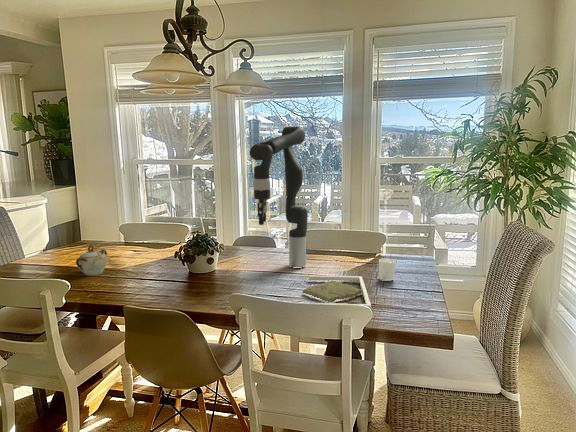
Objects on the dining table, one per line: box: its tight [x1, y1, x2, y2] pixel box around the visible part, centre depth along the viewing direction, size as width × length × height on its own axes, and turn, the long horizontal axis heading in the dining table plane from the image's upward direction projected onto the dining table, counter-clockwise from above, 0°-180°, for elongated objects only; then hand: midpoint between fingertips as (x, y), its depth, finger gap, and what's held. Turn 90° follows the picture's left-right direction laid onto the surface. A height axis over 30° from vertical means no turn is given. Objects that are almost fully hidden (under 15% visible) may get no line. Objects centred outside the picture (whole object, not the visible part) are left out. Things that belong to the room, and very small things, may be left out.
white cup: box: [378, 257, 396, 280], centre depth 203 cm, size 8×8×10 cm
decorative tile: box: [302, 281, 362, 302], centre depth 183 cm, size 19×20×4 cm
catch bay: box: [308, 274, 372, 309], centre depth 183 cm, size 37×26×3 cm
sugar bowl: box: [75, 245, 109, 277], centre depth 215 cm, size 20×15×15 cm
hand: (262, 222), depth 193 cm, fingers open, 8 cm apart
